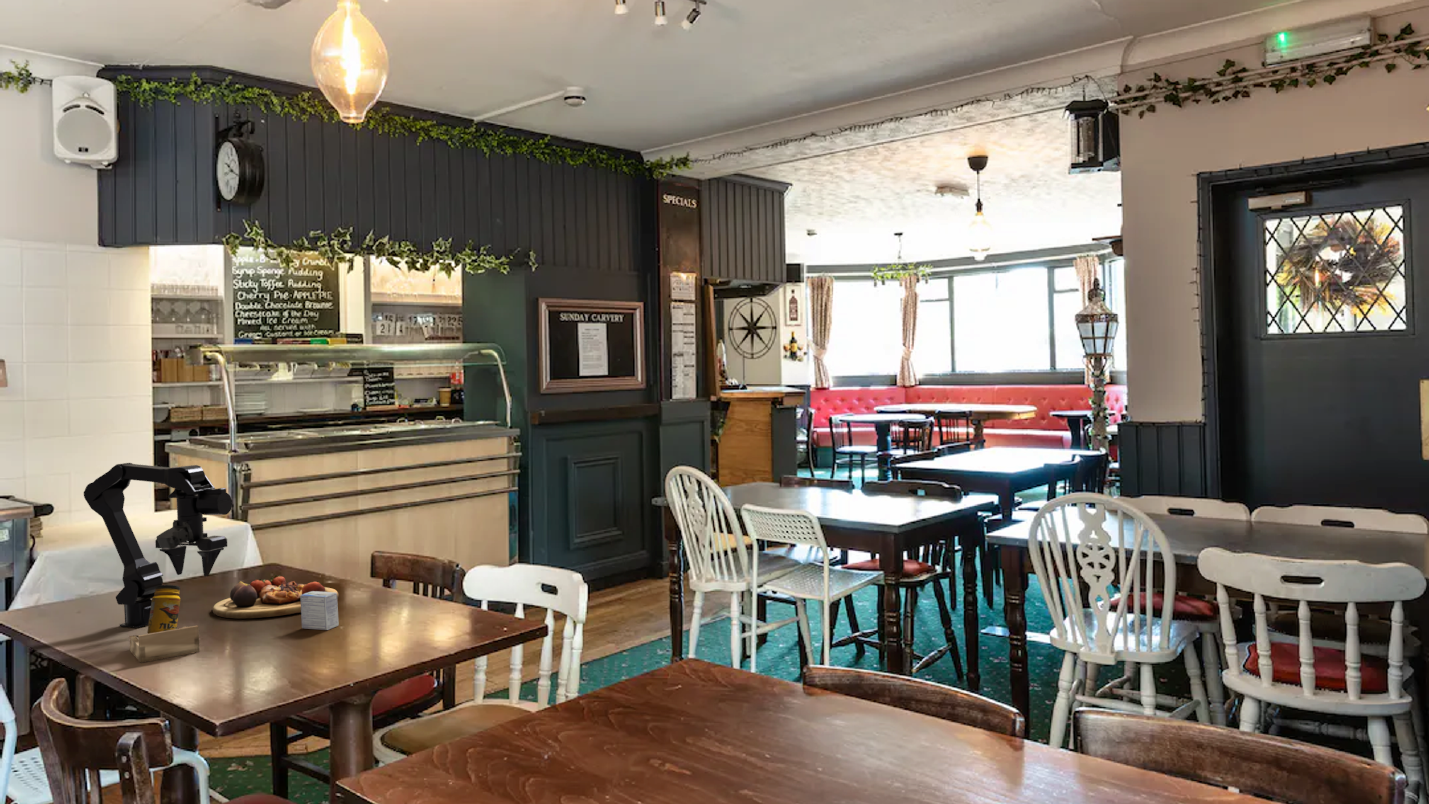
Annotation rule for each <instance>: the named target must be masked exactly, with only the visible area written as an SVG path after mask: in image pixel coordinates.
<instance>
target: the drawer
mask: <svg viewBox="0 0 1429 804" xmlns="http://www.w3.org/2000/svg"><path fill="white" fill-rule="evenodd" d="M199 631H200V630H199V625H191V626H182V627H180V628H177V629H173V630H168V631H162V632H156V633H150V634H148V633H145V634H139V635H138V637H136V636H135V635H136V634H134V635H129V637H128V638H129V650H130V653H133V654H132V655H133V656H134V657H135V658H136V660H137V661H138V662H139V664H142V663H147V662H146V661H148V662H152V661H157V660H163V658H164V659H168V658H174V657H179V656H184V655H189V654H190V655H191V654H195V652H196V653H200V651H201V650H200V633H199Z"/></svg>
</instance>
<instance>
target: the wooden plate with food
mask: <svg viewBox="0 0 1429 804" xmlns="http://www.w3.org/2000/svg"><path fill="white" fill-rule="evenodd" d="M312 591H319V592H336V593H337V600H338V599H339V597H340V595H339V592H338V591H337V590H336V589H334V588H330V587H326V586H323V584H322V583H321V582H319V581H318V582H317V581H311V582H308V583H306V584H303V583H297V582H296V580H293V581H288V582H287V581H286V578H285V577H284V576H282V575H277V574H274V575H273V577H270V580H269V579H262V578H259V579H257V578H256V579H254V580H252V582H250V583H244V582H243V581H241V580H240V581H239V582H238V583H236V584H235V586H233V587H232V589H231V590H230V592H229V597H228V598H226V599H225V598H224V599H223V600H220V601H218V602H217V603H215V604H214V605H213V607H212V612H213V614H214V615H215V616H217V617H222V618H225V619H226V618H227V619H238V620H239V619H241V620H242V619H245V620H246V619H259V618H272V617H280V616H286V615H293V614H299V613H300V614H301V597H300V596H301V595H303V594H305V593H308V592H312Z"/></svg>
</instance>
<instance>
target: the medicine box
mask: <svg viewBox="0 0 1429 804" xmlns="http://www.w3.org/2000/svg"><path fill="white" fill-rule="evenodd" d="M300 597H301V612H300V615H301V618H300V619H301V628H302V629H309V630H321V631H329V630H332V629H334V628H337V627H338V626H339V609H338V606H339V605H338V599H337V593H336V592H319V591H312V592H308V593H305V594H303V595H301V596H300Z"/></svg>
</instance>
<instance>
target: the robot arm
mask: <svg viewBox="0 0 1429 804" xmlns="http://www.w3.org/2000/svg"><path fill="white" fill-rule="evenodd" d="M131 481H141V482H149V483H150V482H151V483H160V484H163V485H166V486H167V487H169V488H171V489H173V491H172V492H171V493H170V494H169V495H168V496H167V497H168V498H169V499H176V513H177V514H176V515H177V516H176V517H177V519H175V520H173V522H172V527H170V528H168V529H166V530H165V531H163V532H161V533H160V534H158V535H157V536H156V537H155V538H156V539H155V542H154V543H155V549H159V552H163V553H164V554H166V555H167V556H168V558H169V560H170V562H171V564H172V567H173V568H174V570H175V573H176V575H177V576H179V575H180V576H181V575H182V574H183V571H184V564H185V558H186V552H187V546H191V547H193V546H194V547H197V548H198V550H197V551H196V552H197V554H198V555H199V556H200V557H201V563H202V572H203V576H204V577H205V578H206V577H208V576H210V573H211V572H212V569H213V567H214V565H215V563H216V561H217V559H218V557H219V555H220V553H221V552H222V551H225V550H224V549H225V548H227V547H228V538H227V537H226V536H224V535H211V536H208V533H207V532H204V523H206V522H208V521H207V518H208V517H205V516H225V515H228V514H229V513H230V512H231V510H232V508H233V499H232V497H231V495H230V493H228V492H227V488H226V487H220V488H215V486H214V485H213V483H212V482H211V480H210V478H208V477H207V475H206V473H205V471H204V469H203V468H202V466H200V465H197V464H194V465H184V466H183V465H182V466H173V467H168V466H156V465H147V464H137V463H132V462H125V463H124V462H123V463H117V464H115V465H114V466H113V467H111V468H110V469H109V470H108V471H107V472H105V473H103V474H102V475H101V476H99V477H97V478H96V479H95V480H94V481H92V482H90V483H89V484H87V485H86V486H85V489H84V491H83V497H84V499H85V501H86V502H87V504H88V506H89V507H90V510H92V511H94V512H95V513H96V514H98V515H99V516H100V517H101V518H102V520H103V522H104V525H105V526H106V529H107V532H108V534H109V536H110V538H111V540H112V543H113V545H114V547H115V549H116V551H117V554H118V556H119V559H120V560H121V563H122V565H123V574H122V583H123V588H122V589H121V590H120V591H119V592H118V594H116V596H115V600H116V603H117V604H118V605H120V606H121V605H122V606H123V608H124V610H123V611H124V622H123V623H119V627H123V628H124V627H126V628H134V629H137V628H138V629H139V628H141V627H145V626H148V625H149V618H150V610H151V603H152V598H153V597H154V592H155V588H156V586H159V585H164V584H163V583H164V580H163V576H164V574H163V573H162V572H161V569H160V567H159V566H160V565H159V564H158V562H157V561H153V562H149V561H148V560H147V559H146V558H145V555H144V553H143V551H142V549H141V547H140V544H139V542H138V540H137V538H136V535H135V534H134V532H133V529H132V527H131V525H130V522H129V519H128V518H127V515H126V513H125V511H124V506H125V505H124V504H125V499H126V497H125V494H124V491H125V490H126V489H127V488H128V487H129V486H130V483H131Z"/></svg>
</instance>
